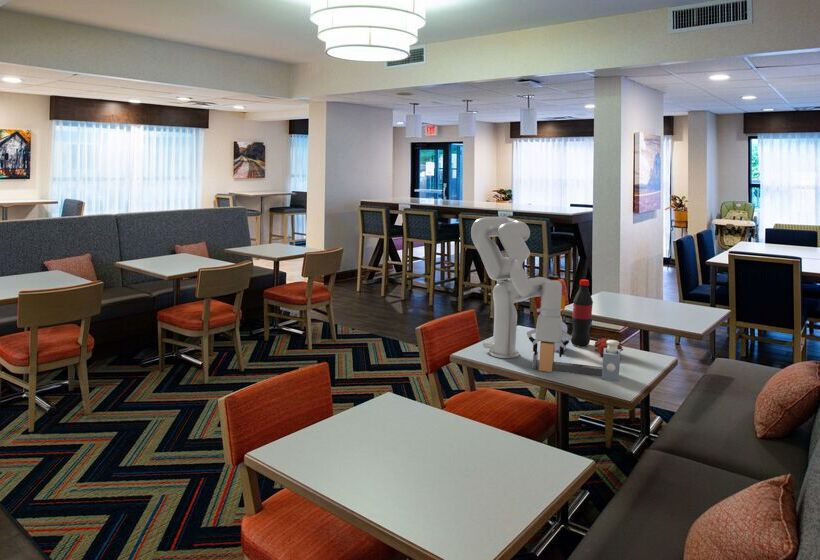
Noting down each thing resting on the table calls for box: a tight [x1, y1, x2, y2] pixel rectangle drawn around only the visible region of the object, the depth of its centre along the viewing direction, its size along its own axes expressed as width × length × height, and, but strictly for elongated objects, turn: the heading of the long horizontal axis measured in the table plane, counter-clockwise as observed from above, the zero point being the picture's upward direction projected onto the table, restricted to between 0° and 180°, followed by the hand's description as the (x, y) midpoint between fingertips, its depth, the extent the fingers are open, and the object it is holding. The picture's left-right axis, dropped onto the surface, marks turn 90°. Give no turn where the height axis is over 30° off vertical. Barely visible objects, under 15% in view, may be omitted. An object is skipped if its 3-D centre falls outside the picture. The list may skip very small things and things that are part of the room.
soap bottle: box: [554, 294, 568, 352], centre depth 260 cm, size 9×9×25 cm
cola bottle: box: [570, 279, 594, 348], centre depth 265 cm, size 8×8×30 cm
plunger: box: [606, 339, 620, 354], centre depth 225 cm, size 5×5×5 cm
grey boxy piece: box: [601, 348, 621, 382], centre depth 226 cm, size 6×8×10 cm
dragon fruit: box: [593, 337, 624, 356], centre depth 252 cm, size 8×8×12 cm
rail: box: [532, 351, 602, 378], centre depth 231 cm, size 27×5×6 cm, turn 72°
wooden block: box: [538, 341, 555, 373], centre depth 233 cm, size 5×7×11 cm
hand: (548, 354), depth 233 cm, fingers open, 9 cm apart
